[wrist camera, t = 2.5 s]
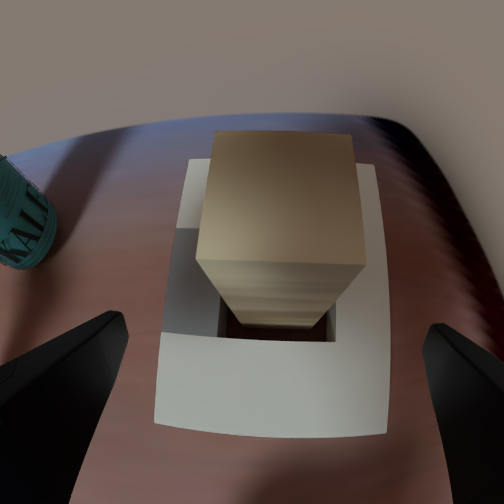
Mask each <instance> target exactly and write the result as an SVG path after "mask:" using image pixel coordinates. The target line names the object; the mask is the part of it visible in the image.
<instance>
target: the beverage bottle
mask: <svg viewBox="0 0 504 504" xmlns="http://www.w3.org/2000/svg"><path fill="white" fill-rule="evenodd" d="M5 157H6V158H7V156H5ZM5 157H3V156H2V155H1V154H0V261H1V262H4V263H6V264H7V265H6V264H3V265H6V266H7V267H8V265H9V266H11V267H12V268H16V269H18V270H20V269H23V270H24V269H29V268H32V267H34V266H35V265H36V264H38V263H39V262H40V261H41V260H42V259H43V258H44V256H45V255H46V254H47V252H48V251H49V249H50V247H51V245H52V243H53V241H54V238H55V235H56V230H57V215H56V212H55V210H54V206H52V204H51V203H50V202H51V200H49V199H48V198H47V197H46V195H45V197H46V198H47V199H48V200H49V201H50V202H49V201H48V200H47V199H46V198H45V197H44V195H42V194H41V193H40V192H38V191H37V189H35V188H34V187H33V186H32V185H31V184H30V183H29V182H28V181H29V180H26V179H25V178H24V177H23V176H24V175H23V176H22V175H21V174H20V173H21V171H20V173H19V172H18V171H17V170H19V169H17V170H16V169H15V168H14V167H13V166H12V165H11V164H10V163H9V162H8V161H7V160H6V158H5ZM11 163H12V162H11ZM13 165H14V164H13ZM30 182H31V181H30ZM43 194H44V193H43ZM10 269H11V268H10ZM13 270H15V269H13Z"/></svg>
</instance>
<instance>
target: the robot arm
mask: <svg viewBox="0 0 504 504" xmlns="http://www.w3.org/2000/svg"><path fill="white" fill-rule="evenodd" d="M128 339H129V335H128V330H127V327H126V323H125V319H124V316H123V314H122V313H121V312H119V311H112V310H109V311H107V312H105V313H103V314H101V315H99V316H97V317H95V318H93V319H91V320H89V321H87V322H85V323H83V324H81V325H79V326H77V327H75V328H73V329H71V330H69V331H67V332H65V333H64V334H62V335H60V336H58V337H56V338H54V339H52V340H50V341H48V342H46V343H44V344H42V345H40V346H38V347H36V348H34V349H33V350H31V351H29V352H27V353H25V354H23V355H21V356H19V358H15V359H13V360H11V361H9V362H7V363H5V364H3V365H1V366H0V504H69V501H70V498H71V494H72V492H73V489H74V486H75V483H76V480H77V477H78V474H79V471H80V469H81V466H82V463H83V460H84V458H85V455H86V452H87V450H88V447H89V445H90V442H91V439H92V437H93V434H94V432H95V429H96V427H97V424H98V422H99V419H100V417H101V414H102V412H103V409H104V407H105V405H106V402H107V400H108V398H109V395H110V393H111V390H112V388H113V386H114V383H115V381H116V378H117V375H118V371H119V368H120V365H121V362H122V359H123V355H124V352H125V349H126V346H127V343H128ZM422 353H423V358H424V363H425V368H426V373H427V379H428V385H429V390H430V395H431V399H432V403H433V407H434V411H435V414H436V418H437V422H438V426H439V430H440V435H441V439H442V444H443V448H444V453H445V458H446V463H447V468H448V473H449V479H450V485H451V491H452V498H453V504H504V362H502V361H501V360H499V359H498V358H497V357H495V356H494V355H492V354H491V353H489V352H488V351H486V350H485V349H483V348H482V347H480V346H479V345H477V344H476V343H474V342H472V341H471V340H469V339H468V338H466V337H465V336H463V335H462V334H460V333H459V332H457V331H456V330H454V329H452V328H451V327H449V326H448V325H446V324H444V323H436V324H432V325H431V326H430V328H429V331H428V334H427V336H426V339H425V342H424V344H423V348H422Z"/></svg>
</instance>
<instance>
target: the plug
mask: <svg viewBox="0 0 504 504" xmlns="http://www.w3.org/2000/svg"><path fill="white" fill-rule="evenodd" d="M196 260H197V262H198V263H199V265H200V266H201V268H202V269H203V271H204V272H205V273H206V275H207V276H208V278H209V279H210V281H211V282H212V284H213V285H214V286H215V288H216V289H217V291H218V292H219V294H220V295H221V296H222V298H223V299H224V301H225V302H226V304H227V305H228V306H229V308H230V309H231V311H232V312H233V313H234V315H235V316H236V318H237V319H238V320H239V322H240V323H241V325H242V326H243V327H250V328H270V329H300V330H310V329H311V328H312V327H313V326H314V325H315V324H316V323H317V322H318V320H319V319H320V318H321V317H322V316H323V315H324V314H325V313H326V312H327V310H328V309H329V308H330V307H331V306H332V305H333V304H334V302H335V301H336V300H337V299H338V298H339V297H340V296H341V294H342V293H343V292H344V291H345V290H346V289H347V287H348V286H349V285H350V284H351V283H352V281H353V280H354V279H355V278H356V277H357V275H358V274H359V273H360V272H361V271H362V269H363V268H364V267H365V266H366V253H365V240H364V228H363V218H362V208H361V199H360V191H359V183H358V176H357V168H356V162H355V155H354V149H353V143H352V137H351V135H345V134H333V133H317V132H297V131H216V132H215V137H214V143H213V148H212V154H211V160H210V166H209V172H208V178H207V184H206V190H205V196H204V203H203V209H202V216H201V223H200V230H199V237H198V244H197V251H196Z"/></svg>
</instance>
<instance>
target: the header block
mask: <svg viewBox="0 0 504 504" xmlns="http://www.w3.org/2000/svg"><path fill="white" fill-rule="evenodd" d="M210 160H211V159H190V160H189V164H188V169H187V174H186V178H185V183H184V188H183V193H182V199H181V204H180V209H179V215H178V220H177V226H176V232H175V237H174V243H173V250H172V256H171V262H170V269H169V276H168V283H167V290H166V298H165V305H164V313H163V322H162V331H161V340H160V350H159V360H158V372H157V384H156V399H155V415H154V423H158V424H163V425H168V426H174V427H179V428H186V429H192V430H199V431H206V432H214V433H223V434H233V435H244V436H259V437H280V438H329V437H350V436H364V435H375V434H385V433H386V432H387V420H388V407H389V389H390V353H391V338H390V301H389V282H388V268H387V256H386V246H385V236H384V227H383V219H382V212H381V204H380V197H379V191H378V185H377V178H376V173H375V167H374V165H372V164H361V163H356V168H357V176H358V183H359V191H360V199H361V208H362V218H363V228H364V240H365V253H366V266H365V267H364V268H363V269H362V271H361V272H360V273H359V274H358V275H357V277H356V278H355V279H354V280H353V281H352V283H351V284H350V285H349V286H348V287H347V289H346V290H345V291H344V292H343V293H342V294H341V296H340V297H339V298H338V299H337V300H336V301H335V302H334V304H333V305H332V306H331V307H330V308H329V309H328V310H327V330H326V342H294V341H267V340H248V339H232V338H226V330H227V318H228V305H227V304H226V302H225V301H224V299H223V298H222V296H221V295H220V294H219V292H218V291H217V289H216V288H215V286H214V285H213V284H212V282H211V281H210V279H209V278H208V276H207V275H206V273H205V272H204V271H203V269H202V268H201V266H200V265H199V263H198V262H197V260H196V251H197V244H198V237H199V230H200V223H201V216H202V209H203V203H204V196H205V190H206V184H207V178H208V172H209V166H210Z"/></svg>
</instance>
